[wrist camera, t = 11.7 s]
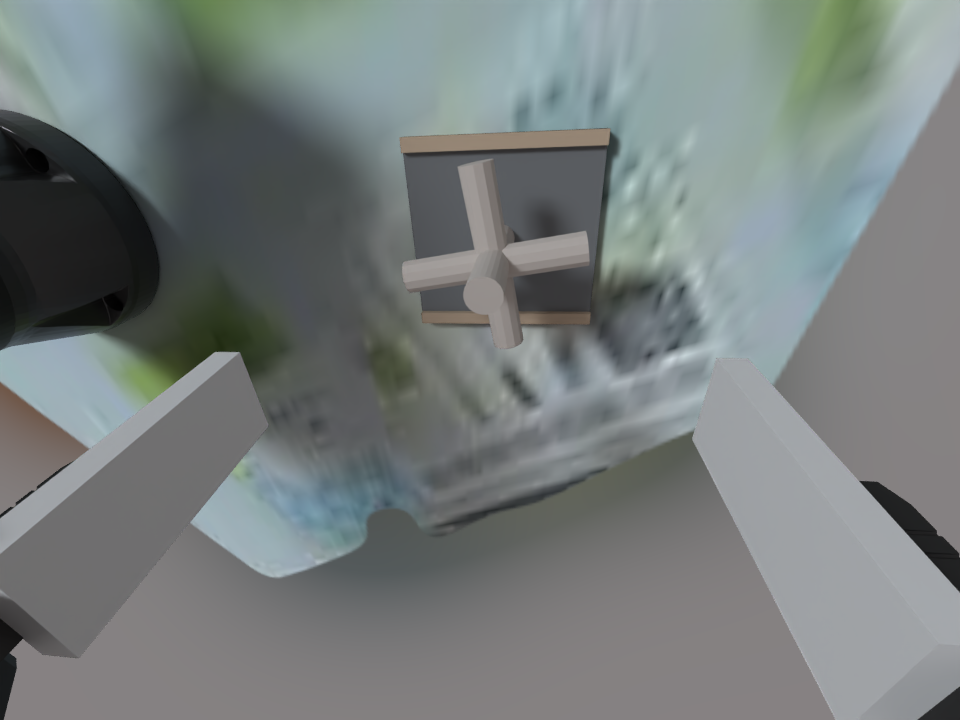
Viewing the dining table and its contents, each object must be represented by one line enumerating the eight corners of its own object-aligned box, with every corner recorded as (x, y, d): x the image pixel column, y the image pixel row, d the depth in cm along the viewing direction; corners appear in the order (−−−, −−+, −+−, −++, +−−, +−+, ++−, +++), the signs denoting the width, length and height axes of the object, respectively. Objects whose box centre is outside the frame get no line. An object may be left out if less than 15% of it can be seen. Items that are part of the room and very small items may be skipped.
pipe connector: (584, 298, 28) (605, 378, 20) (445, 317, 30) (409, 397, 22) (571, 135, 23) (591, 147, 15) (407, 171, 25) (341, 200, 17)
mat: (425, 317, 31) (422, 323, 30) (403, 136, 25) (399, 137, 24) (587, 318, 30) (589, 324, 29) (607, 127, 23) (610, 128, 23)
